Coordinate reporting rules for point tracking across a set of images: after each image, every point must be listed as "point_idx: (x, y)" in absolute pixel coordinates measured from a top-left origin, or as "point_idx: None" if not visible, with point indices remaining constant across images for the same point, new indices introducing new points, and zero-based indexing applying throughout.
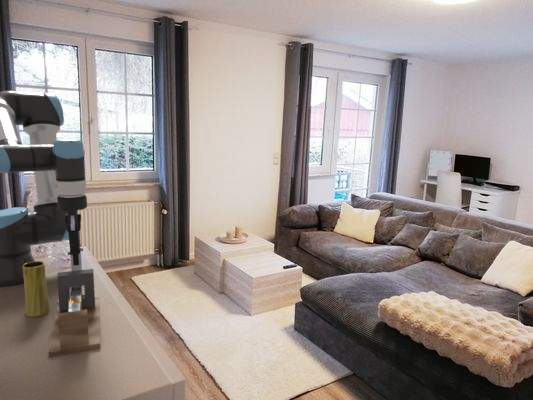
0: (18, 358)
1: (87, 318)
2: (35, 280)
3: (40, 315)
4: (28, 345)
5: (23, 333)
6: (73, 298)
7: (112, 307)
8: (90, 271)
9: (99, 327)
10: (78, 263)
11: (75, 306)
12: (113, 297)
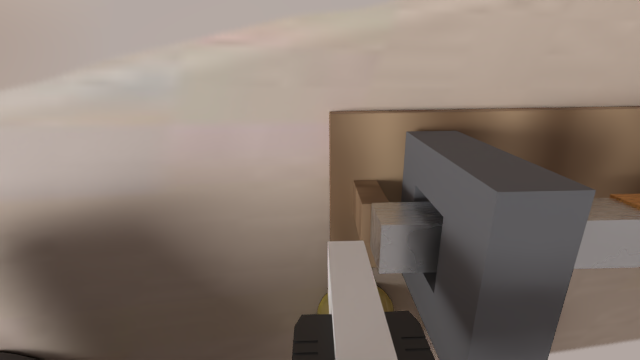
0: (632, 316)
1: None
2: None
3: (391, 302)
4: (574, 305)
5: None
6: (622, 252)
7: (424, 50)
8: (554, 211)
9: (638, 109)
10: (419, 325)
11: None
12: (312, 41)
